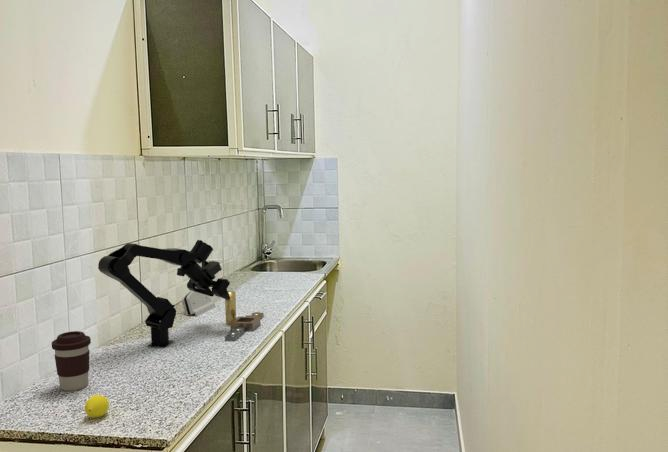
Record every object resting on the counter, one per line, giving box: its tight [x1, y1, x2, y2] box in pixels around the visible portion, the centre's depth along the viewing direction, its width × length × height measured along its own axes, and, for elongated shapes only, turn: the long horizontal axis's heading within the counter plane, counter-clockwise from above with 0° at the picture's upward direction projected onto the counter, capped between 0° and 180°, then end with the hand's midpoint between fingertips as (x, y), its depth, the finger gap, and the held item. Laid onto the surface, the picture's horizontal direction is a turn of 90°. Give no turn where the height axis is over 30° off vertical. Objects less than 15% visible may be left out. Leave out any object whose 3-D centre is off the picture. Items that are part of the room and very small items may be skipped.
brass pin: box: [224, 290, 237, 326], centre depth 228 cm, size 4×4×12 cm
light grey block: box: [181, 290, 217, 317], centre depth 249 cm, size 17×5×10 cm, turn 164°
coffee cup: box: [51, 330, 92, 392], centre depth 167 cm, size 10×10×15 cm
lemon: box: [84, 394, 110, 419], centre depth 147 cm, size 7×5×5 cm
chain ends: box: [224, 311, 265, 342], centre depth 223 cm, size 33×9×3 cm, turn 169°
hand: (221, 297), depth 224 cm, fingers open, 9 cm apart
